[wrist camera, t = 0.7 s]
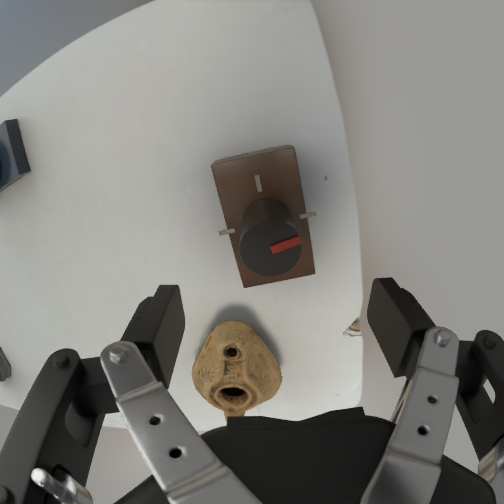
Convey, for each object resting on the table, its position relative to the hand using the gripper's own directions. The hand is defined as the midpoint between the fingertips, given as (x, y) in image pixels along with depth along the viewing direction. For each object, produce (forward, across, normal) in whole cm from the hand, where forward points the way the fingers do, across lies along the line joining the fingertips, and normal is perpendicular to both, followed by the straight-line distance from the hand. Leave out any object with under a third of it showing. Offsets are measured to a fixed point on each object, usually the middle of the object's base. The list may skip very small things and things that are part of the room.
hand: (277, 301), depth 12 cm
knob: (+14, 0, +2) cm, 15 cm away
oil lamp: (+18, +4, +20) cm, 27 cm away
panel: (+18, 0, +2) cm, 18 cm away
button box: (+18, +33, -7) cm, 38 cm away
